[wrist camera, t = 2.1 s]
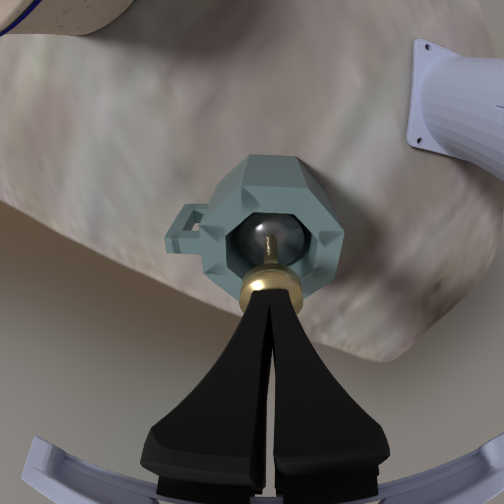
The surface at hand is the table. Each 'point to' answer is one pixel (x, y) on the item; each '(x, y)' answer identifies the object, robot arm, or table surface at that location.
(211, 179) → the table surface
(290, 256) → the plunger
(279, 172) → the tea press body
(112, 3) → the teacup with lid
